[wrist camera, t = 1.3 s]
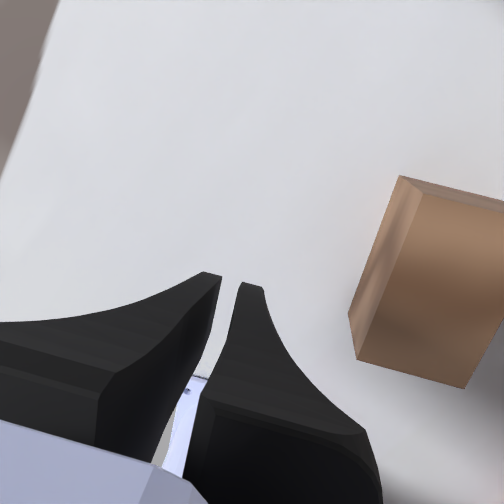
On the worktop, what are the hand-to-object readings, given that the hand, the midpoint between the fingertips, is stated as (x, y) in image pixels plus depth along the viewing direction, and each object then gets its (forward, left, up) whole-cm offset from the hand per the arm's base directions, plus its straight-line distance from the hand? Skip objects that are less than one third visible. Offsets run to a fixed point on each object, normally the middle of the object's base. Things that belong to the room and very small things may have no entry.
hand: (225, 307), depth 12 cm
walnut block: (0, -9, -10) cm, 13 cm away
